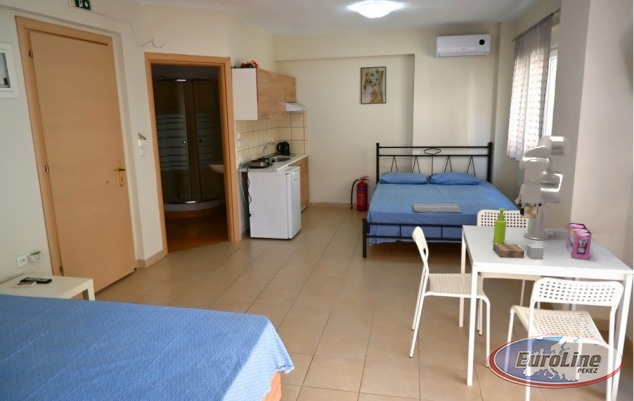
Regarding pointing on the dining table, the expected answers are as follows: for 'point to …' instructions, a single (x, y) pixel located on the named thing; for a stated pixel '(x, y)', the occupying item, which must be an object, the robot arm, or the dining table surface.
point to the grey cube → (535, 251)
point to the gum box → (578, 241)
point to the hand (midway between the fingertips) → (528, 214)
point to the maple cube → (529, 211)
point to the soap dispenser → (500, 228)
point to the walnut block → (508, 250)
